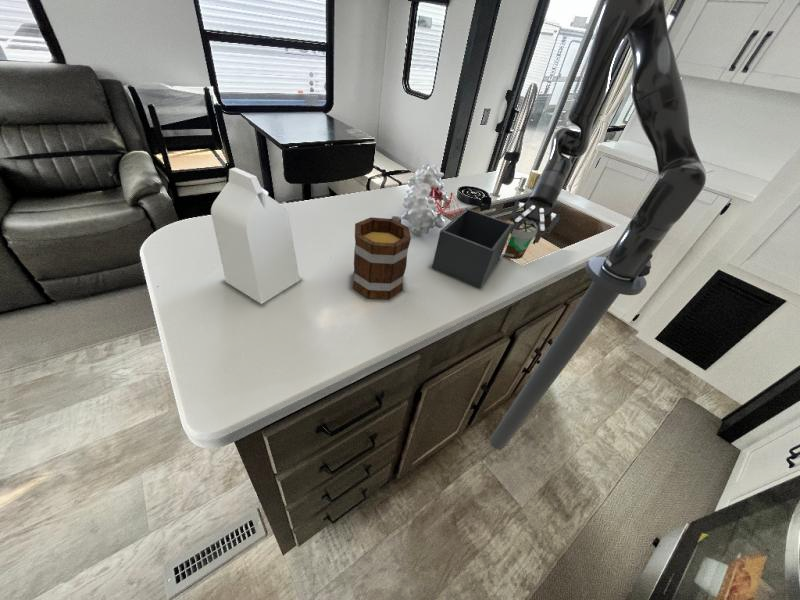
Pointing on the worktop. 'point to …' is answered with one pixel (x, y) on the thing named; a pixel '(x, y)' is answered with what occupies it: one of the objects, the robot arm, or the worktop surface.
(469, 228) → the bin
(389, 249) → the mug
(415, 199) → the protein dna model
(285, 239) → the milk
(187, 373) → the worktop surface
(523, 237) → the food container
